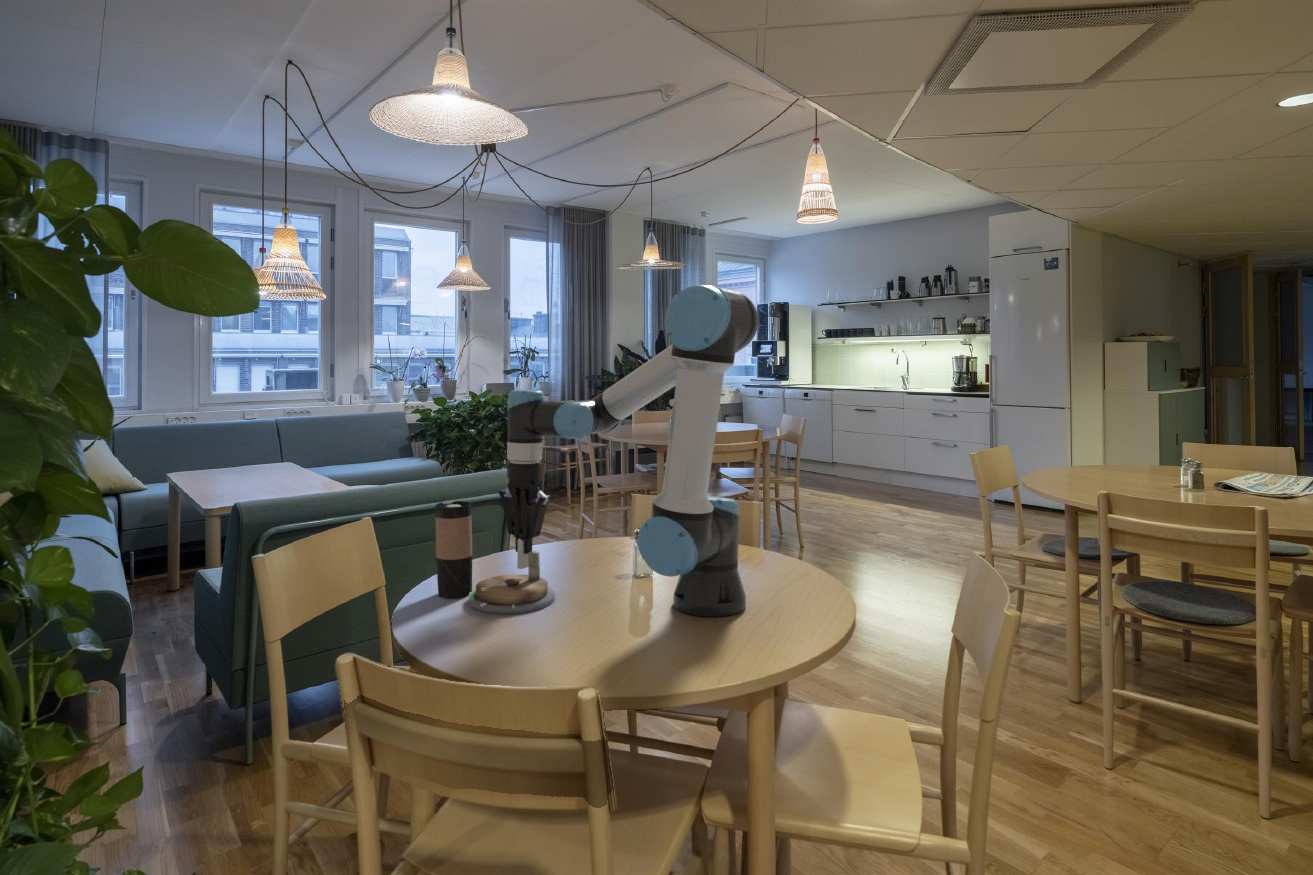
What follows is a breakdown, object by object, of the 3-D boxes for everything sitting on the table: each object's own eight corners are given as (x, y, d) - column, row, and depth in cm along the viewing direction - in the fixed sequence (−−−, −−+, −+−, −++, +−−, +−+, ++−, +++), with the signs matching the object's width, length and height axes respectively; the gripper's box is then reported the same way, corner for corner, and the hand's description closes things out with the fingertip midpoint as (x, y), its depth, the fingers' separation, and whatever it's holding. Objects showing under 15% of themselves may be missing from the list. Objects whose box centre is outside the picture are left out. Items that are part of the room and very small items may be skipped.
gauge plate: (569, 593, 162) (569, 585, 162) (525, 619, 145) (525, 610, 145) (500, 584, 168) (500, 576, 168) (450, 607, 152) (450, 599, 152)
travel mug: (463, 600, 157) (461, 508, 155) (430, 598, 158) (428, 506, 156) (479, 589, 164) (477, 501, 162) (447, 587, 166) (445, 500, 164)
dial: (524, 579, 167) (523, 544, 166) (561, 594, 156) (560, 557, 155) (463, 592, 157) (462, 555, 157) (498, 609, 146) (497, 570, 145)
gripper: (559, 462, 159) (557, 568, 161) (514, 456, 165) (512, 558, 168) (536, 465, 153) (535, 576, 155) (490, 460, 159) (489, 566, 161)
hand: (523, 567), depth 161 cm, fingers closed
